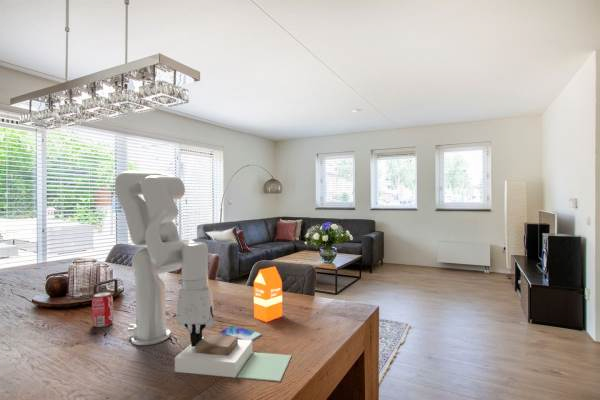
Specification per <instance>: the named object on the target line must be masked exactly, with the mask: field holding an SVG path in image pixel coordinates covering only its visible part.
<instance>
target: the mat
mask: <svg viewBox="0 0 600 400" xmlns="http://www.w3.org/2000/svg"><path fill="white" fill-rule="evenodd" d="M291 358H292V354H282V353H281V354H279V353H268V352H255V351H253V353H252V355H251V356H250V357H249V359H248V360H247V362H246V363H245V364H244V366H243V367H242V369H241V370H240V372H239V373H238V374H237V376H236V378H237V379H238V378H239V379H246V380H247V379H248V380H257V381H258V380H259V381H268V382H281V380H282V378H283V376H284V374H285V372H286V369H287V367H288V365H289V363H290V360H291Z"/></svg>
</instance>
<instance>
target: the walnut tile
mask: <svg viewBox="0 0 600 400" xmlns="http://www.w3.org/2000/svg"><path fill="white" fill-rule="evenodd" d="M203 337H204V338H203V339H201V340H200V341H199V342H198V343H197V344H196V353H201V354H213V355H225V356H229V355H230V353H231V352H232V351H233V350H234V349H235V347H236V346H237V345H238V337H237V336H226V335H222V334H210V333H209V334H206V335H205V336H203Z"/></svg>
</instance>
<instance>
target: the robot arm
mask: <svg viewBox="0 0 600 400" xmlns="http://www.w3.org/2000/svg"><path fill="white" fill-rule="evenodd" d="M185 188H186V187H185V184H184V182H183V181H182V179H181V178H180V177H178V176H176V175H173V174H168V173H165V172H158V171H157V172H156V171H145V170H143V171H139V170H128V171H127V170H126V171H124V172H121V173H119V174H118V175H117V176H116V178H115V181H114V190H115V195H116V197H117V200H118V202H119V204H120V206H121V208H122V210H123V212H124V214H125V220H126V224H127V228H128V232H129V233H128V234H129V236H130V239H131V242H132V243H133V245H134V246H137V247H146V248H142V249H140V250H137V251H136V252H135V253H134V254H133V256H132V257H131V266H132V267H131V268H132V272H133V277H134V284H135V285H134V286H135V287H134V288H135V323H130V324H129V325H128V328H127V330H126V331H127V333H133V335H132V336H131V339H130V341H131V342H130V343H132V344H133V345H136V346H149V345H150V346H151V345H155V344H159V343H161V342H164V341H165V340H167V339H169V338H170V337H171V335H172V332H171V330H170V329H169V328H167V317H166V315H167V312H166V310H167V309H166V305H167V304H166V303H167V302H166V285H165V283H164V281H163V279H161V277H160V276H159V275H161V274H163V273H169V272H175V271H177V270H180V269H181V279H179V280H178V284H179V285H181V288H180V289H179V291H178V295H177V303H176V322H177V323H178V324H179V325H180V326H184V327H185V328H186V329H187V332H188V333H189V334H190V344H191V346H192V347H194V346H195V347H196V344H197V343H198V342H199V341H200V340H201V339H202V337H203V330H204V329H205V328H209V327H212V326H213V325H214V320H213V319H214V315H215V314H214V311H215V309H214V301H213V293H212V290H211V289H212V288H211V287H209V257H208V254H209V253H208V252H209V251H208V248H209V247H208V245H207V243H205V242H202V241H195V240H192V239H182V240H181V238H180V235H179V232H178V229H177V226H176V224H175V223H174V220H175V219H176V218H177V217H178V215H179V209H178V206H177V204H176V202H175V200H180V199H182V198H183V196H184V195H185V192H186V189H185ZM139 195H142V196H143V198H142V197H140V196H139Z"/></svg>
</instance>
